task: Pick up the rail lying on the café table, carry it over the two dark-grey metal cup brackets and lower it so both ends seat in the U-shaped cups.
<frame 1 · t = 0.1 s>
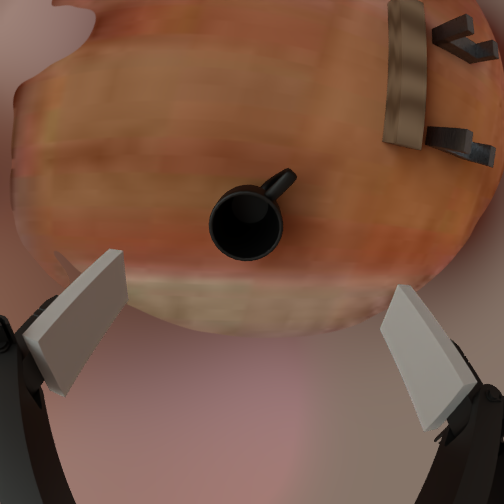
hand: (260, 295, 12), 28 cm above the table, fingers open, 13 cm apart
mug: (259, 196, 39), on the table
bracket 1: (446, 143, 33), on the table
rail: (399, 70, 30), on the table
bracket 2: (451, 46, 26), on the table
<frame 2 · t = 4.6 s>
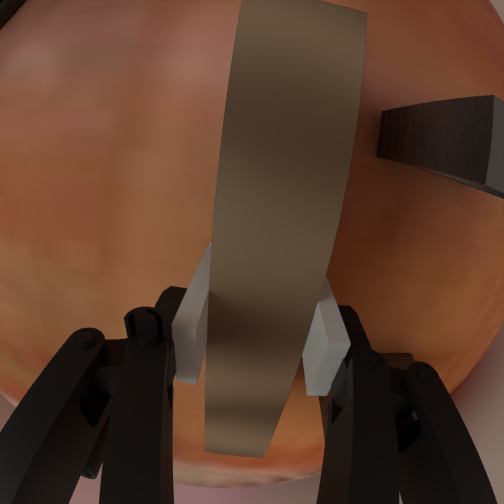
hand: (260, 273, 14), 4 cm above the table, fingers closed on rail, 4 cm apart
mug: (96, 403, 27), on the table
bracket 1: (365, 365, 21), on the table
rail: (260, 270, 15), point 3 cm above the table, touching gripper
bracket 2: (433, 150, 15), on the table
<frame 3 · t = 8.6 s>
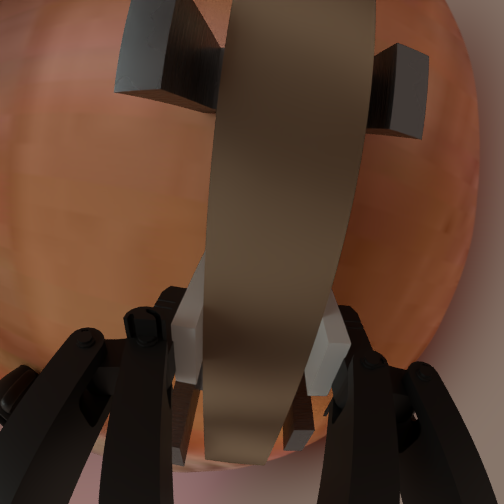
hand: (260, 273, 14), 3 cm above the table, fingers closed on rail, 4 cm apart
mug: (35, 373, 27), on the table
bracket 1: (246, 349, 21), on the table
rail: (260, 275, 14), point 4 cm above the table, touching bracket 2, bracket 1, gripper
bracket 2: (280, 94, 14), on the table
when the fingers open (3 cm above the table, at t = 9.0 s): rail stays where it is, resting on bracket 2, bracket 1.
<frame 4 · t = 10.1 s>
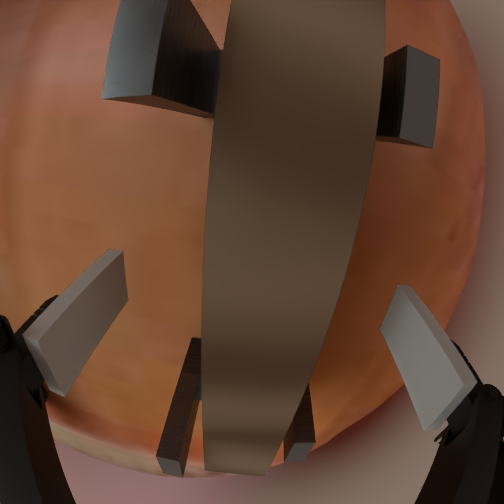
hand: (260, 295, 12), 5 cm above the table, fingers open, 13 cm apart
bracket 1: (246, 359, 20), on the table
rail: (261, 287, 14), point 3 cm above the table, touching bracket 2, bracket 1
bracket 2: (282, 98, 13), on the table
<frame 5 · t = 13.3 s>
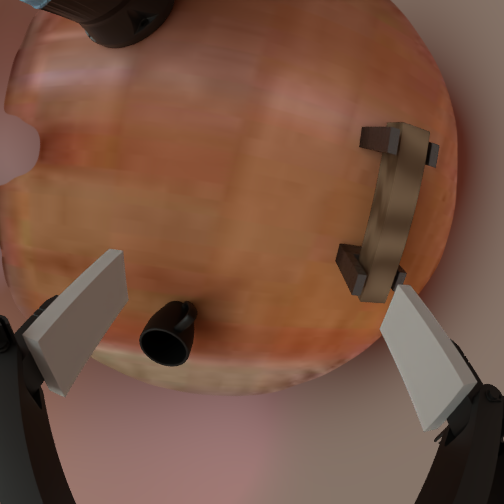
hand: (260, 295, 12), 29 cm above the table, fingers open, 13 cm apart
mug: (184, 307, 48), on the table
bracket 1: (361, 255, 42), on the table
rail: (383, 209, 36), point 3 cm above the table, touching bracket 2, bracket 1
bracket 2: (386, 143, 35), on the table
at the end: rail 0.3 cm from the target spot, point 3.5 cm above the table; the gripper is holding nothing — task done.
